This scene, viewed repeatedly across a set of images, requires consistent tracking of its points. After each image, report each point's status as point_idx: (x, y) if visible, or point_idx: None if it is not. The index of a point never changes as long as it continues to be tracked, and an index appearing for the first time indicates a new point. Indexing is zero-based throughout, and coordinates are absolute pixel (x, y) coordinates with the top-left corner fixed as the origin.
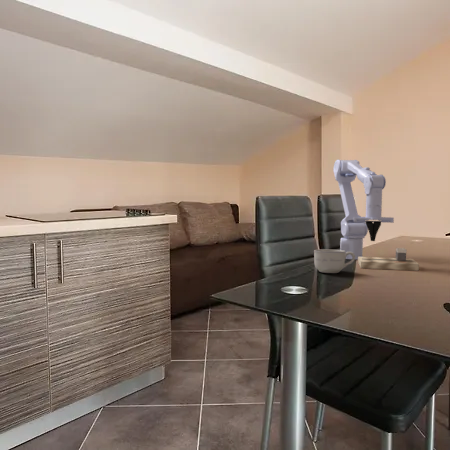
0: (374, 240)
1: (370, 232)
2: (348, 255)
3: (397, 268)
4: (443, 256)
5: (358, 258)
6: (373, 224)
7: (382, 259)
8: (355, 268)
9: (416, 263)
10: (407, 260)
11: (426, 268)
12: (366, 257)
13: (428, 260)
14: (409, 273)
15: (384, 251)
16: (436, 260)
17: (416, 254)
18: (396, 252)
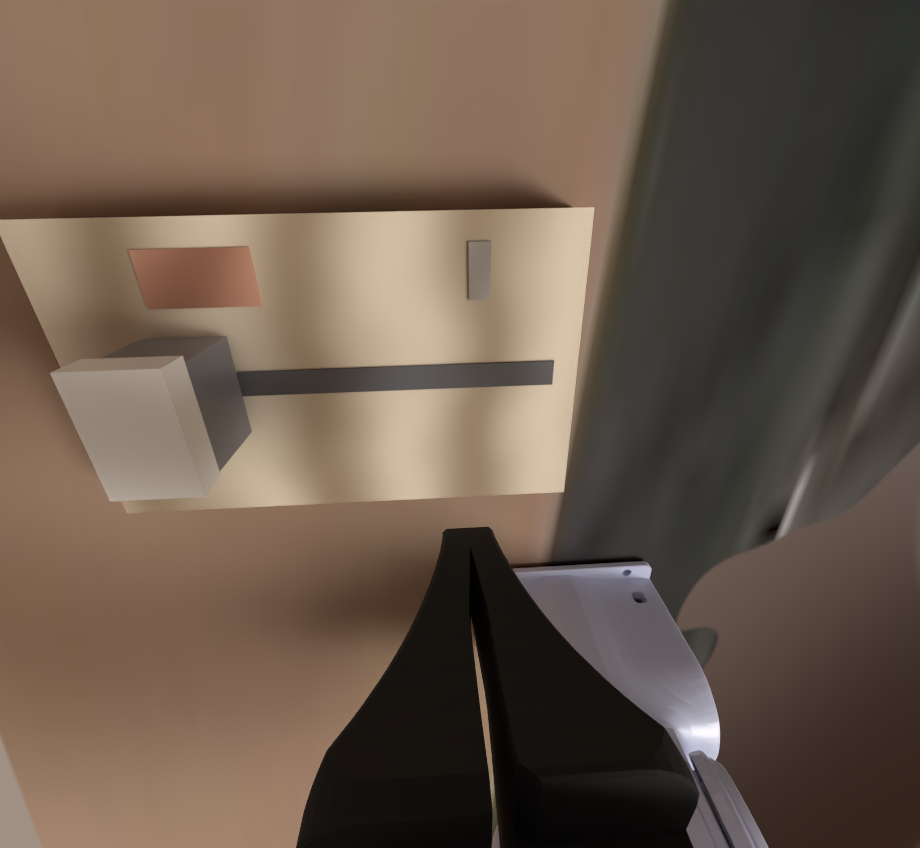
0: (449, 532)
1: (531, 609)
2: (603, 593)
3: (240, 214)
4: (30, 786)
5: (564, 453)
6: (518, 762)
7: (369, 387)
8: (623, 177)
9: (23, 240)
10: None
11: (18, 364)
12: (500, 468)
13: (82, 666)
14: (106, 2)
15: None
16: (35, 678)
17: (182, 798)
18: (212, 430)
